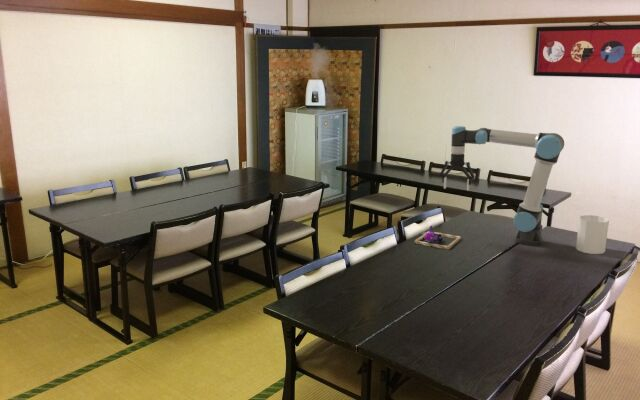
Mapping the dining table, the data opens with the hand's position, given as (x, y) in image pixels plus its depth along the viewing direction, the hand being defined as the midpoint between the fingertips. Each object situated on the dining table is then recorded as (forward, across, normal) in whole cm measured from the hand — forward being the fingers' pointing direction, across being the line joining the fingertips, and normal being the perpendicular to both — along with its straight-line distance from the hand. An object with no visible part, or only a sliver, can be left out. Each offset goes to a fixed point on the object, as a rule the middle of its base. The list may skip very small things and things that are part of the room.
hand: (456, 189), depth 313 cm
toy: (+29, +7, +18) cm, 35 cm away
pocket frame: (+29, +8, +13) cm, 33 cm away
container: (+31, -72, -14) cm, 80 cm away
